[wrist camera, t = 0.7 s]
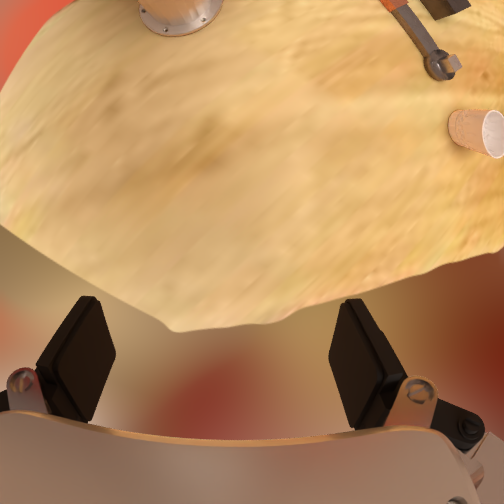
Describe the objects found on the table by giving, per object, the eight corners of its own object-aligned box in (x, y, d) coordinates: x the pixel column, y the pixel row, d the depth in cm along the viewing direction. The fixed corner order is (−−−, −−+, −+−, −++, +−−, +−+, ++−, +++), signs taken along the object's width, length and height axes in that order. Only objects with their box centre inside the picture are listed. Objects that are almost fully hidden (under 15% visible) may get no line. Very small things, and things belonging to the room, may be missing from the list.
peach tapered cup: (470, 153, 41) (505, 164, 32) (442, 141, 40) (478, 149, 31) (475, 115, 38) (511, 121, 29) (448, 100, 37) (485, 102, 28)
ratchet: (354, -21, 28) (366, -34, 23) (375, -30, 27) (389, -42, 22) (434, 85, 36) (454, 84, 31) (451, 73, 35) (471, 71, 30)
